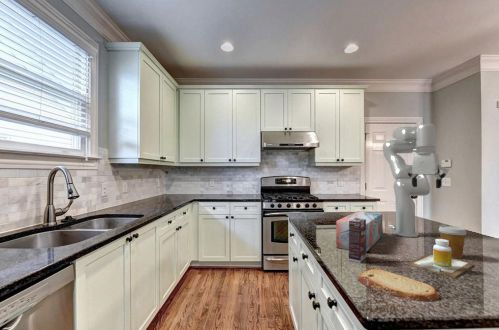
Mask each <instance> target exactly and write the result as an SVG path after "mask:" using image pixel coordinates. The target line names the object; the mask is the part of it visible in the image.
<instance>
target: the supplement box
mask: <svg viewBox="0 0 499 330" xmlns="http://www.w3.org/2000/svg"><path fill="white" fill-rule="evenodd" d="M366 254H367V252H366V219H359V218H355V219H353V220H351V221H349V250H348V261H350V262H353V263H358V264H361V262H363V261H364V260H365V258H366V257H367V255H366Z"/></svg>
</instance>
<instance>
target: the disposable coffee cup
mask: <svg viewBox="0 0 499 330" xmlns="http://www.w3.org/2000/svg"><path fill="white" fill-rule="evenodd" d="M438 231H439V235H440V237H439V238H440V239H444V240H448V241H449V245H448V246H449V247H450V248H451V259H455V260H457V259H459V260H460V259H462V258H463V253H464V248H465V246H464V245H465V242H466V241H465V240H466V239H465V238H466V235H467V230H466V228H465V227H461V226H460V227H459V226H455V225H454V226H453V225H439V228H438Z"/></svg>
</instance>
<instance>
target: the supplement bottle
mask: <svg viewBox="0 0 499 330" xmlns="http://www.w3.org/2000/svg"><path fill="white" fill-rule="evenodd" d="M448 245H449V241H448V240H444V239H441V238H435V244H433V247H432V250H433V251H432V252H433V254H432V255H433V264H434V266H436V267H439V268H442V269H451V268H452V259H453V258H451V248H450V247H449V246H448Z"/></svg>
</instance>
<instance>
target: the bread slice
mask: <svg viewBox="0 0 499 330" xmlns="http://www.w3.org/2000/svg"><path fill="white" fill-rule="evenodd" d="M357 281H358V282H359V283H361V284H363V285H364V286H365V287H367V288H369V289H371V290H373V291H376V292H378V293H382V294H386V295H387V296H388V295H389V296H393V297H397V298H401V299H405V300H413V301H420V302H423V301H424V302H432V301H433V302H434V301H437V300H439V299H440V295H439V294H438V292H437V291H436V289H435V288H434V287H433V286H432V285H429V284H428V283H424V282H422V281H418V280H416V279H414V278H410V277H407V276H404V275H401V274H396V273H393V272H392V271H391V272H389V271H386V270H383V269H380V268H371V269H368V270H365V271H363V272H361V273H360V274H359V275H358V277H357Z"/></svg>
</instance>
